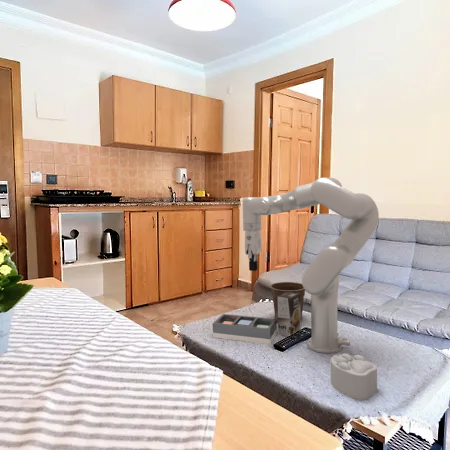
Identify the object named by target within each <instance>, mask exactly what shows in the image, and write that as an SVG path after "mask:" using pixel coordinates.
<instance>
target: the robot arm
mask: <svg viewBox="0 0 450 450" xmlns="http://www.w3.org/2000/svg"><path fill="white" fill-rule="evenodd" d="M319 205H322V206H324V207H326V208H327V209H329V210H330V211H332V212H333V213H336V214H337V215H339V216H340V217H343V218H344V219H348V220H351V221H350V222H349V223H348V225H346V227H345V228H344V229H343V230H342V232H341V233H340V235H339V236H338V237H337V239H335V241H333V242H332V243H330V244H327V245H326V246H324V247H323V248H322V249H321V250H320V251H319V252H318V253H317V255H316V256H315V258H314V259H313V260H312V262H311V263H309V264H310V265H309V266H308V267H307V268H306V269H305V271H304V272H303V275H302V278H301V284H302V285H303V288H304V289H305V292H306V293H308V294H310V295H311V296H310V314H311V315H310V316H311V317H310V319H311V323H310V324H311V332H310V333H311V337H310V338H309V339H308V340H307V343H306V344H307V347H308V348H309V349H310V350H312V351H314V352H317V353H322V354H335V353H338V352H340V351H341V350H342V348H343V346H348V347H350V346H351V339H350V340H348V338H347V337H341V336H340V334H339V332H338V327H339V326H338V298H339V297H338V295H339V293H338V292H339V284H340V274H341V273H342V271H343V270H344V269H346V268H347V267H349V266H350V265H351V264H352V263H353V261H354V259H355V258H356V256H357V255H358V254H359V253H360V251H361V250H362V249H363V247H364V246H365V245H366V244H367V242H368V241H369V240H370V238H371V237H372V235H373V234H374V232H375V231H376V228H377V226H378V224H379V215H380V213H379V209H378V206H377V204H376V201H374V199H373V198H372V197H371V196H369V195H368V194H365V193H356V192H355V193H354V192H352V191H350V190H349V189H347V188H345V187H343V185H342V183H341V182H340V180H338V179H337V178H333V177H325V176H324V177H320V178H317V179H315V180H314V181H313V182H310V183H307V184H302V185H298V186H295V188H294V190H291V191H287V192H285V193H281V194H278V195H268V196H267V195H266V196H265V195H264V196H260V197H259V196H257V197H256V196H249V197H243V198H242V227H243V231H244V232H245V233H244V252H245V255H246V256H247V259H248V271H253V272H256V271H258V255H259V254H260V253H261V252H262V249H263V247H262V245H263V244H262V233H261V231H262V216H269V215H270V216H271V215H278V214H282V213H286V212H290V211H294V210H301V209H305V208H310V207H313V206H319Z"/></svg>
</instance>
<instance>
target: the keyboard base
mask: <svg viewBox="0 0 450 450" xmlns="http://www.w3.org/2000/svg"><path fill="white" fill-rule="evenodd" d="M277 334H278V328H277V329H276V330H275V332H274V334H273V335H272V337H271V339H263V338H254V337H246V336H237V335H229V334H220V333H213V332H212V337H213V338H215V339H223V340H224V339H225V340H231V341H240V342H247V343H256V344H264V345H271V343H272V342H273V340H274V339H275V337H276V335H277Z"/></svg>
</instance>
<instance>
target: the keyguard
mask: <svg viewBox="0 0 450 450" xmlns="http://www.w3.org/2000/svg"><path fill="white" fill-rule="evenodd" d="M240 320H248V321H252V323H251V324H250V326H241V325H237V324H238V323H239V321H240ZM224 321H228V322H233V323H232V324H222V323H223V322H224ZM258 325H266V326H269V327H268V328H260V327H257V326H258ZM276 329H277V330H278V322H277V319H275V318H269V317H259V316H258V317H257V316H249V315H237V314H236V315H235V314H228V313H223V314H221V315H220V316H219V317H218V318H217V319H216V320H214V322H213V323H212V334H213V333H220V334H229V335H237V336H246V337H254V338H263V339H271V337H272V335H273V334H274V332H275V330H276Z"/></svg>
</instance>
